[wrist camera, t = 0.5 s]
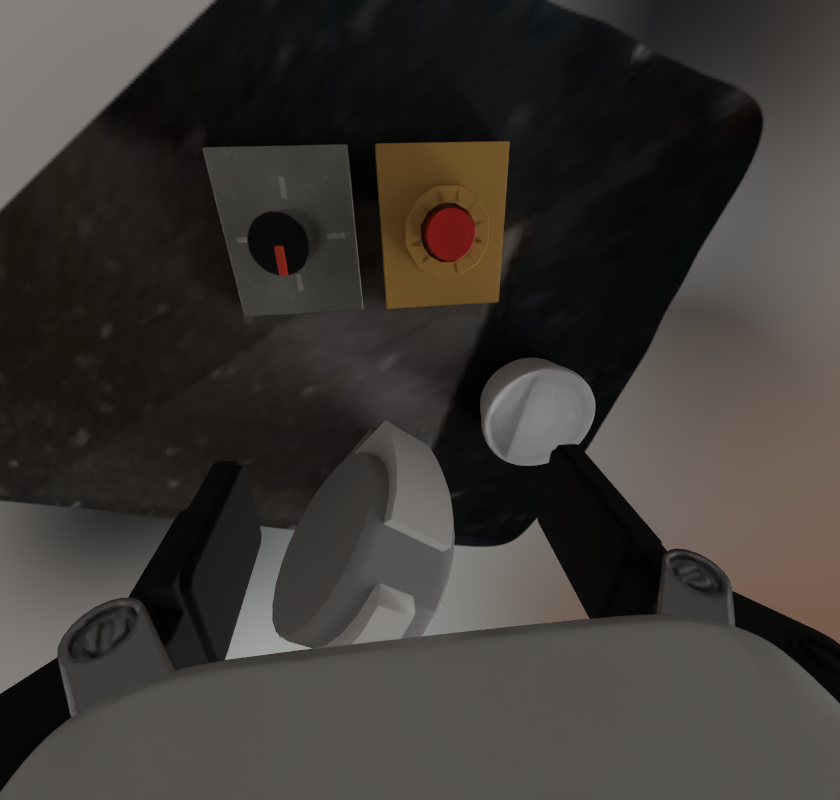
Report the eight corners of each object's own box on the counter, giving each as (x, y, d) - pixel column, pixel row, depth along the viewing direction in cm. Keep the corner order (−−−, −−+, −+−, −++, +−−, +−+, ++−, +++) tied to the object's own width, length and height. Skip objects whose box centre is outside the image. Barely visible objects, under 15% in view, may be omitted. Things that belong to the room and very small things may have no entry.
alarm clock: (349, 532, 48) (340, 729, 30) (288, 505, 45) (237, 708, 27) (440, 433, 43) (493, 602, 25) (378, 394, 39) (388, 557, 22)
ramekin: (458, 370, 39) (470, 393, 35) (562, 331, 39) (588, 350, 34) (485, 451, 45) (499, 481, 40) (576, 418, 44) (601, 444, 39)
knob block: (374, 146, 29) (375, 140, 26) (500, 144, 30) (518, 137, 27) (385, 302, 35) (387, 314, 32) (491, 296, 36) (505, 307, 32)
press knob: (423, 207, 28) (426, 208, 27) (470, 206, 29) (476, 206, 27) (424, 258, 30) (427, 261, 29) (468, 256, 30) (474, 259, 29)
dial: (259, 209, 29) (238, 212, 24) (313, 208, 29) (303, 210, 24) (270, 265, 30) (253, 278, 26) (321, 263, 31) (313, 275, 26)
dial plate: (211, 149, 28) (200, 146, 26) (348, 147, 29) (347, 144, 27) (250, 310, 34) (243, 317, 32) (363, 304, 35) (363, 310, 33)
